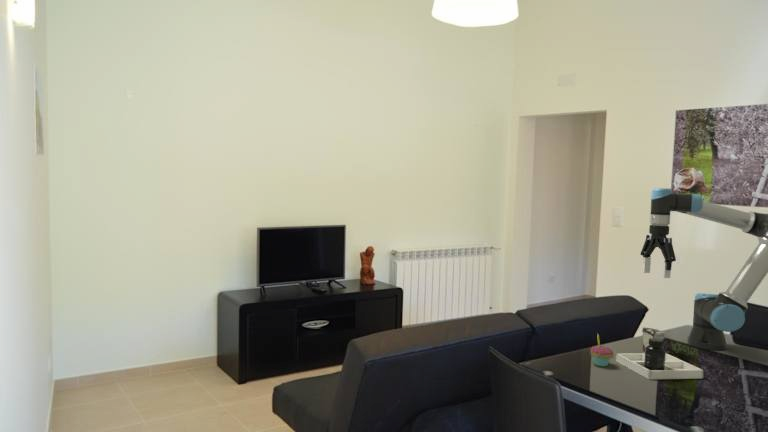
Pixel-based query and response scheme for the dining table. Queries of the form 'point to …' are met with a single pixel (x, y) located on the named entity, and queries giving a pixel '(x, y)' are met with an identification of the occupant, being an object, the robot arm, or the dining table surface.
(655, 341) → the supplement bottle
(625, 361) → the organiser
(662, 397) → the dining table surface
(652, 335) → the food container
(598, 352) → the cupcake
